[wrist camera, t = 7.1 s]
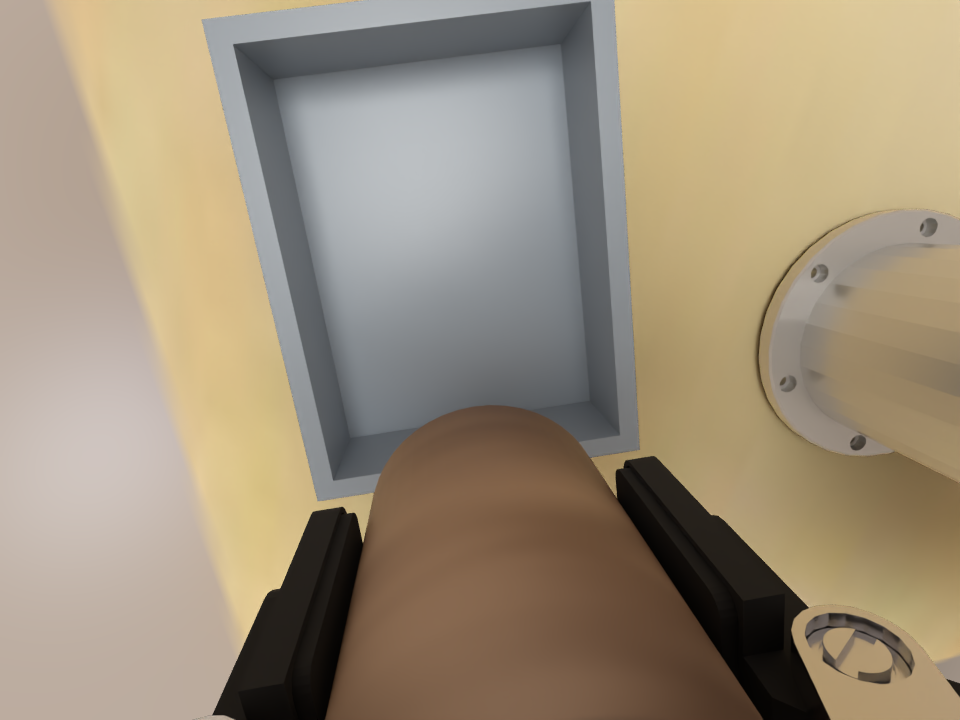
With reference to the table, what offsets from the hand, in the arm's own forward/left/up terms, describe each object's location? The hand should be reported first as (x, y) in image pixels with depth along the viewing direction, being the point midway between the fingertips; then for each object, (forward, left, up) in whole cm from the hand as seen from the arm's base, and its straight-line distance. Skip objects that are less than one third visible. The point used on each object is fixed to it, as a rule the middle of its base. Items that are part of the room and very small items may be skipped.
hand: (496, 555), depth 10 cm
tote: (+3, -3, -16) cm, 17 cm away
